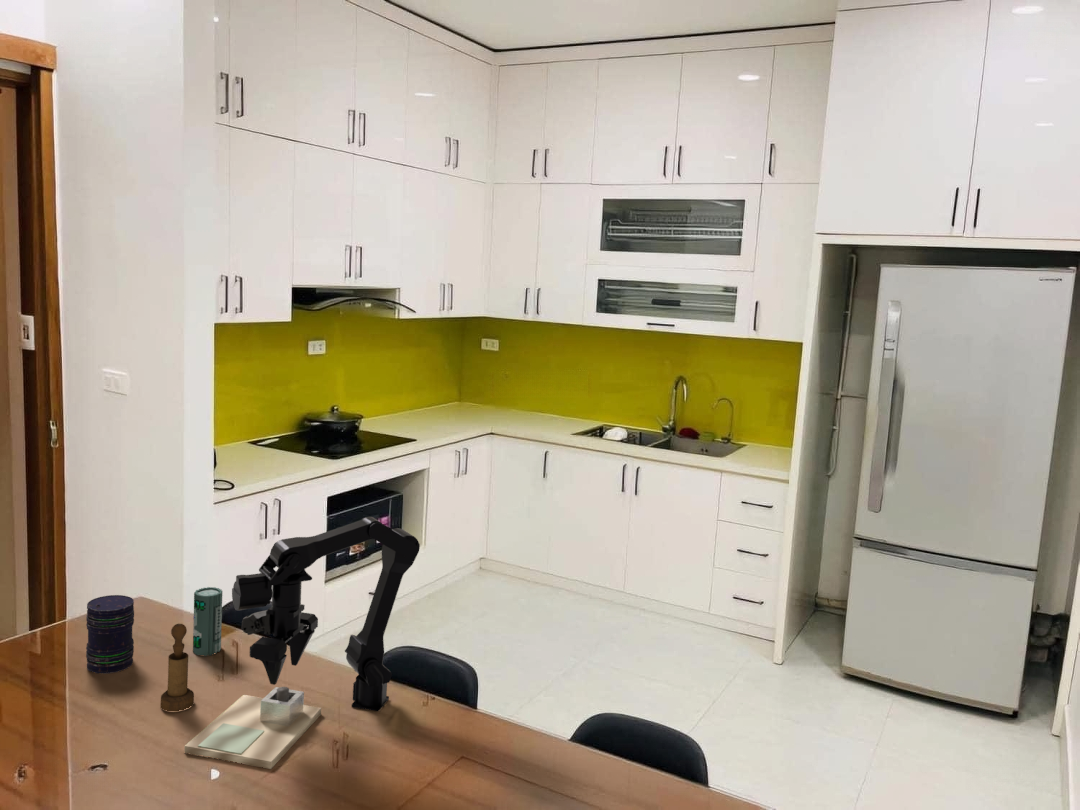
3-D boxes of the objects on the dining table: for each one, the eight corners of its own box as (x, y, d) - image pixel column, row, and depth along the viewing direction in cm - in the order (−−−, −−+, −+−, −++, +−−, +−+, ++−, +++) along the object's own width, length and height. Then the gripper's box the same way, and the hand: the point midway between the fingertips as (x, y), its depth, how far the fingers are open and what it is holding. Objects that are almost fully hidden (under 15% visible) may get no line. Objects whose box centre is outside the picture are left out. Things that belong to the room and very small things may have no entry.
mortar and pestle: (181, 715, 180) (183, 633, 177) (153, 709, 181) (155, 628, 179) (200, 700, 186) (202, 621, 184) (173, 695, 188) (174, 616, 185)
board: (321, 714, 184) (322, 681, 183) (270, 769, 163) (272, 731, 162) (243, 701, 187) (244, 668, 186) (184, 753, 166) (185, 716, 165)
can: (197, 644, 213) (198, 586, 211) (222, 645, 214) (224, 587, 212) (190, 655, 207) (191, 595, 205) (216, 656, 208) (218, 596, 206)
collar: (303, 711, 182) (304, 691, 181) (289, 726, 176) (289, 705, 175) (275, 707, 183) (275, 687, 182) (260, 721, 177) (260, 700, 176)
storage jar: (119, 651, 207) (120, 591, 205) (142, 664, 201) (143, 603, 199) (77, 664, 198) (77, 602, 196) (99, 678, 193) (100, 614, 191)
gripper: (272, 582, 187) (270, 650, 189) (225, 613, 168) (223, 688, 170) (320, 589, 185) (317, 658, 187) (278, 621, 166) (276, 697, 169)
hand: (284, 674), depth 178 cm, fingers open, 9 cm apart
